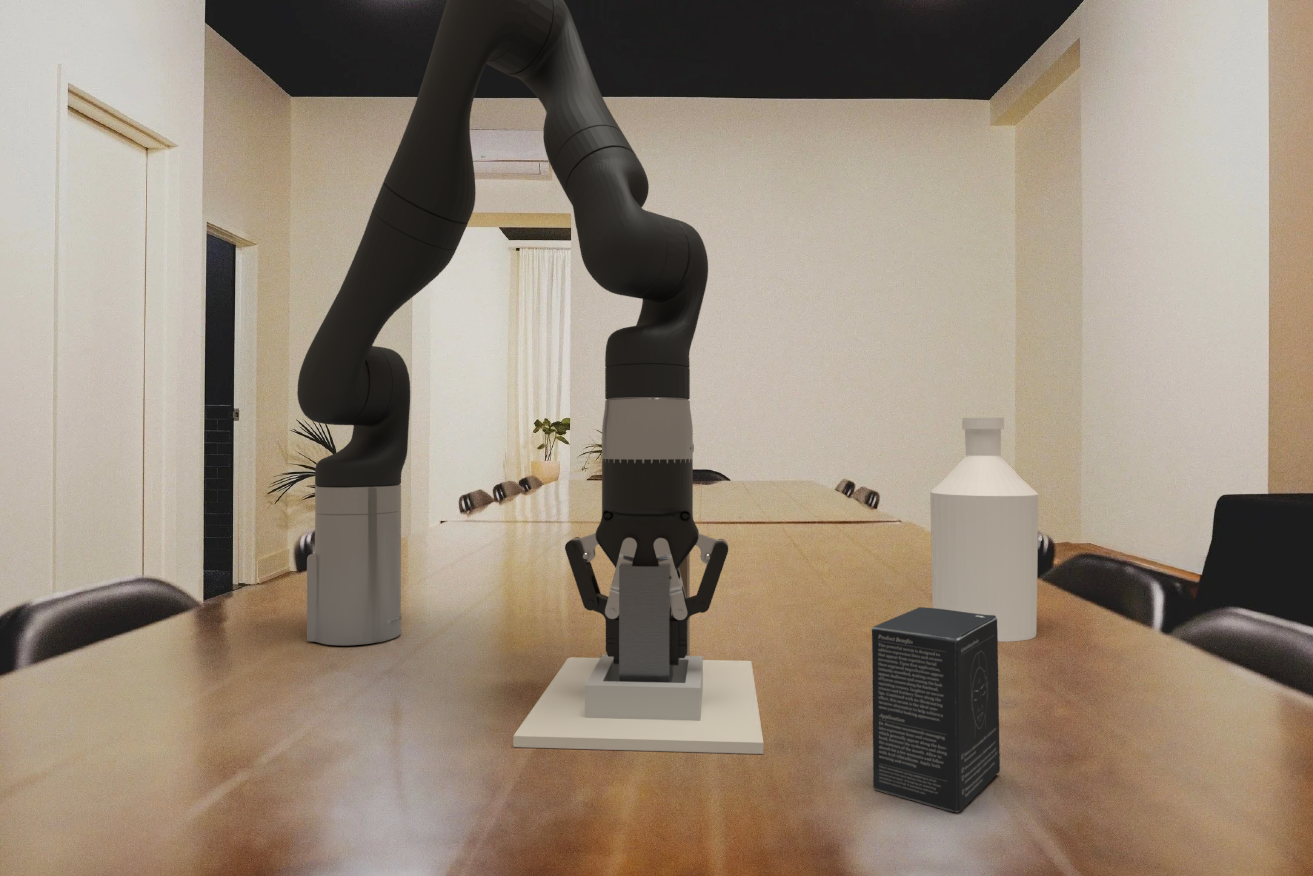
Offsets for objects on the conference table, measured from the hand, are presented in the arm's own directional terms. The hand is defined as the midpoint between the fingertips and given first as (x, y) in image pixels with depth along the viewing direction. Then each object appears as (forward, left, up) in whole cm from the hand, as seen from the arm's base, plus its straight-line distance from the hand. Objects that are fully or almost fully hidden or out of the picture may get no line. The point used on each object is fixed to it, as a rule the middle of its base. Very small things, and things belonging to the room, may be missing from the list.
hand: (647, 661), depth 68 cm
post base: (0, +2, -4) cm, 5 cm away
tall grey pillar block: (0, 0, -2) cm, 2 cm away
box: (+20, -13, -4) cm, 24 cm away
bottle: (+37, +32, -4) cm, 49 cm away
